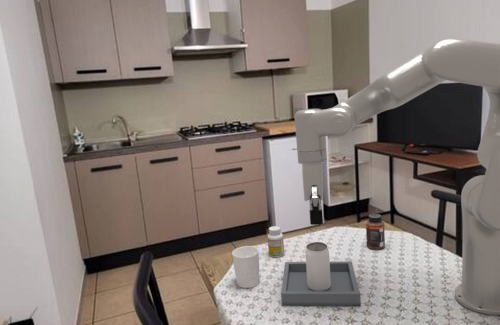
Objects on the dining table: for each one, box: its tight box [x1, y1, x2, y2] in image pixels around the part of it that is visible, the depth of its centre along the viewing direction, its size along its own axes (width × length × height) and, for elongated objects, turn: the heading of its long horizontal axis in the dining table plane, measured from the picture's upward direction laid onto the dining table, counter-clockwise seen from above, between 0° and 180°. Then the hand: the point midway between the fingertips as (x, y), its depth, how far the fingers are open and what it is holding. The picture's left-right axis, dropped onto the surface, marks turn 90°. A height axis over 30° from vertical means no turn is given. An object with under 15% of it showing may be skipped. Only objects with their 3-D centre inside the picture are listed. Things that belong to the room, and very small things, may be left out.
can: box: [305, 241, 331, 291], centre depth 101 cm, size 6×6×12 cm
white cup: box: [231, 245, 260, 289], centre depth 108 cm, size 8×8×10 cm
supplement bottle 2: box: [365, 213, 386, 251], centre depth 125 cm, size 6×6×11 cm
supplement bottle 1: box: [267, 225, 285, 258], centre depth 126 cm, size 5×5×10 cm
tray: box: [280, 260, 361, 307], centre depth 102 cm, size 20×18×4 cm
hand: (316, 217), depth 99 cm, fingers open, 9 cm apart
